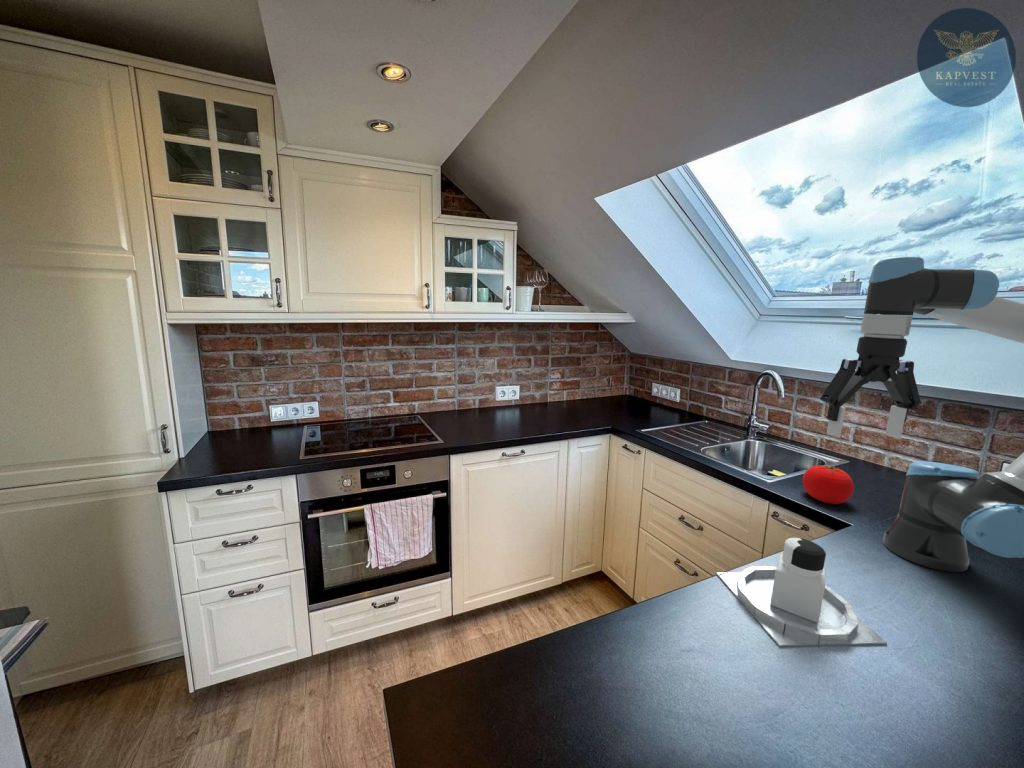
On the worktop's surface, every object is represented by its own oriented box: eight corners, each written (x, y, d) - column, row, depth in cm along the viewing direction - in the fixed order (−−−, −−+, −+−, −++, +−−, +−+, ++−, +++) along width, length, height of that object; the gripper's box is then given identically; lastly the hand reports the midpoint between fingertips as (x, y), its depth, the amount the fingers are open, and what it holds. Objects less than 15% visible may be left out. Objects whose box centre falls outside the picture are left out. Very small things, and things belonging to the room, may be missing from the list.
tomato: (821, 509, 125) (828, 474, 123) (792, 490, 138) (797, 458, 136) (860, 510, 125) (867, 475, 123) (827, 491, 138) (833, 459, 136)
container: (819, 602, 84) (831, 542, 81) (817, 624, 78) (830, 561, 75) (774, 585, 88) (784, 529, 86) (769, 605, 82) (779, 545, 80)
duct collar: (802, 573, 94) (803, 565, 93) (886, 644, 74) (889, 634, 74) (716, 574, 92) (717, 565, 92) (779, 647, 73) (781, 637, 72)
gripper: (920, 336, 90) (900, 431, 94) (811, 333, 88) (794, 430, 92) (959, 339, 83) (935, 442, 87) (841, 335, 81) (822, 441, 85)
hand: (863, 436), depth 89 cm, fingers open, 13 cm apart
